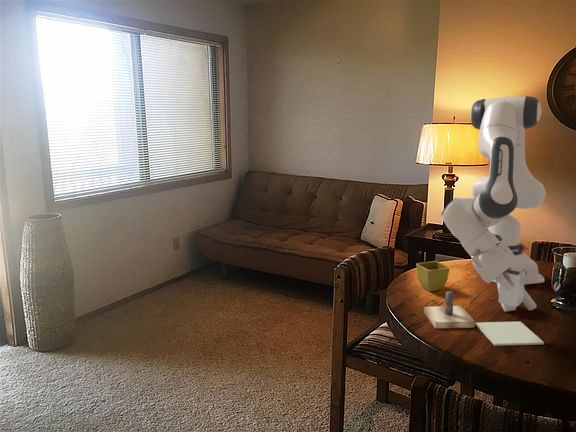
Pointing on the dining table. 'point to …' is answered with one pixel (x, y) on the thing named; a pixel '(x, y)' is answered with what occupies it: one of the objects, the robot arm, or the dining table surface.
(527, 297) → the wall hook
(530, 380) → the dining table surface
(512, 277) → the steel sleeve
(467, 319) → the peg stand
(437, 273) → the flower pot
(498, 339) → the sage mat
